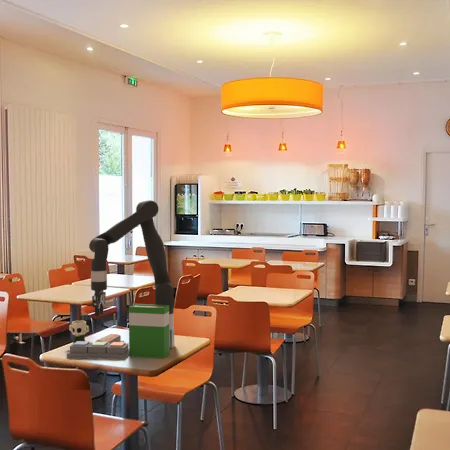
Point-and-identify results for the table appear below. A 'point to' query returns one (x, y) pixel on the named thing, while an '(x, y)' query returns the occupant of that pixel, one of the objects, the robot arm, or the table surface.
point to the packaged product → (110, 338)
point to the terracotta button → (117, 344)
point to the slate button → (81, 343)
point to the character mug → (78, 330)
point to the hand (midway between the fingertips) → (99, 314)
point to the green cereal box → (149, 330)
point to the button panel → (98, 351)
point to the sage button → (99, 344)
